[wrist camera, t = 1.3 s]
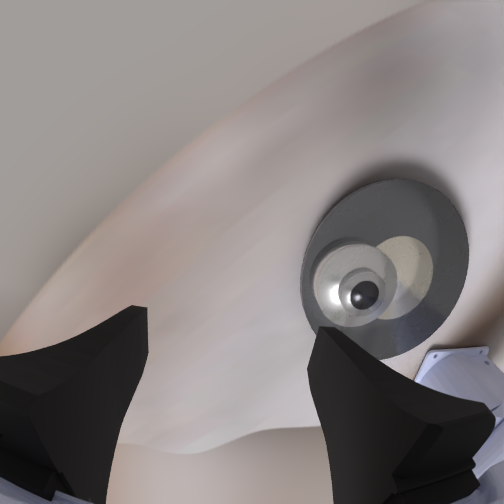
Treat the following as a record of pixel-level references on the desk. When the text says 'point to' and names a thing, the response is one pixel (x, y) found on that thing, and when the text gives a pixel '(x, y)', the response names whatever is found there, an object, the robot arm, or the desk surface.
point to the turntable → (398, 260)
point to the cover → (353, 281)
